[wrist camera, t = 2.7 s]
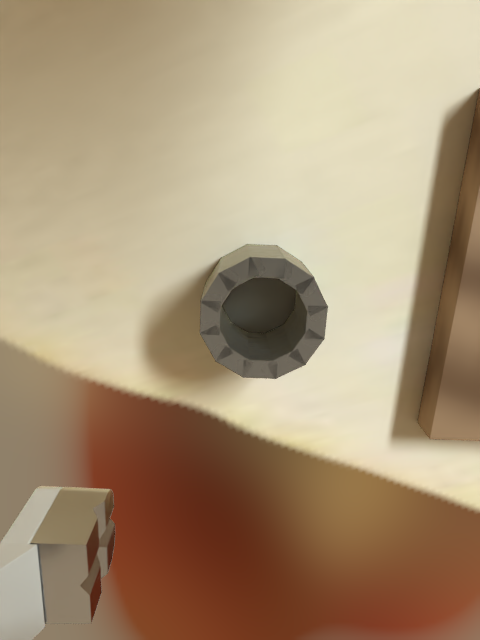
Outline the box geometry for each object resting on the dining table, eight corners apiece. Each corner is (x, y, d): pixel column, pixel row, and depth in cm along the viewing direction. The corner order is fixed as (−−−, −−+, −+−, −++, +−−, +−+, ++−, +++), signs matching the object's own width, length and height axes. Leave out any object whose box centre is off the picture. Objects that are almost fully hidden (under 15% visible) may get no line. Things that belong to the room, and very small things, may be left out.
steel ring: (206, 241, 26) (201, 254, 22) (317, 247, 26) (333, 260, 22) (204, 345, 28) (198, 376, 24) (307, 350, 28) (320, 380, 24)
